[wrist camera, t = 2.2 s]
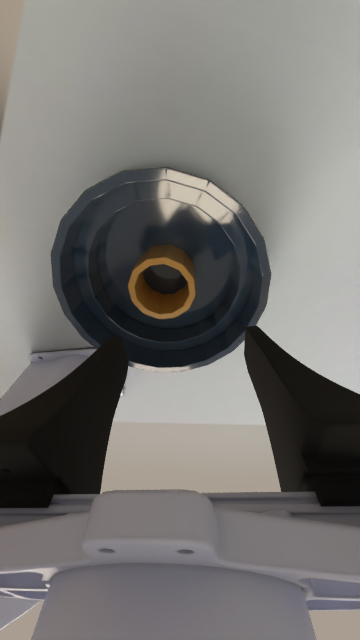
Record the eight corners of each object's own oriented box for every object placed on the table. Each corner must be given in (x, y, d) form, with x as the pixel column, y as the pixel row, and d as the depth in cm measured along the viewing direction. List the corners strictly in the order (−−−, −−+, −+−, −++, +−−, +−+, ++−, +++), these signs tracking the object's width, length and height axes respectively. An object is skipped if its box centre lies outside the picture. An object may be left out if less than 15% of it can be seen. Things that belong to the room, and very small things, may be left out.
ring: (144, 300, 21) (136, 321, 18) (131, 248, 19) (120, 262, 16) (196, 295, 21) (197, 316, 18) (191, 241, 18) (191, 254, 15)
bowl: (132, 353, 26) (122, 387, 22) (43, 220, 18) (0, 234, 14) (267, 312, 22) (285, 344, 18) (224, 128, 15) (239, 109, 11)
